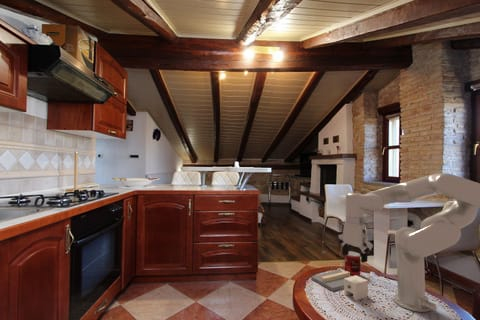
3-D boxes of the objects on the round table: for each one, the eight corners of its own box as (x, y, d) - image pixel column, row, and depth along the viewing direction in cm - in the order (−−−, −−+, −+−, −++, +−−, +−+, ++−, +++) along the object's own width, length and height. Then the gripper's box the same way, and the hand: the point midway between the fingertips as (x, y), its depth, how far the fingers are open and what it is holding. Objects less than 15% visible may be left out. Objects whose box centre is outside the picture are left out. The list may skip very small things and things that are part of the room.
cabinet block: (368, 296, 106) (367, 280, 107) (354, 300, 102) (354, 284, 103) (356, 290, 112) (356, 275, 112) (343, 294, 108) (342, 278, 108)
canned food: (348, 269, 136) (348, 250, 137) (363, 274, 130) (362, 253, 131) (342, 273, 131) (341, 252, 132) (356, 278, 125) (356, 256, 126)
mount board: (361, 283, 119) (361, 276, 119) (332, 291, 110) (332, 284, 111) (338, 272, 132) (338, 266, 132) (311, 279, 123) (311, 272, 123)
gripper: (377, 223, 103) (378, 263, 102) (344, 216, 119) (344, 251, 118) (366, 224, 100) (366, 266, 99) (333, 217, 115) (333, 253, 114)
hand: (354, 258), depth 108 cm, fingers open, 9 cm apart
